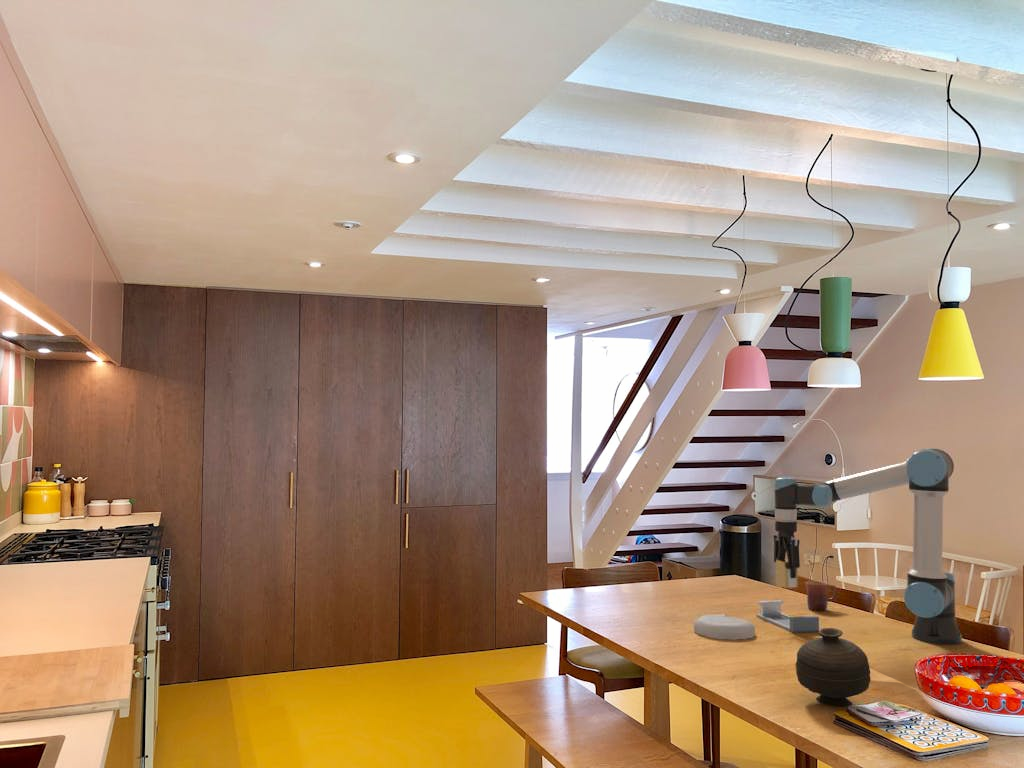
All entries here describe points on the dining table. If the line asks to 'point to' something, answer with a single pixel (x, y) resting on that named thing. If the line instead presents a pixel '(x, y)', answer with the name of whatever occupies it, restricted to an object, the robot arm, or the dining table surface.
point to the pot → (833, 668)
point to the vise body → (794, 622)
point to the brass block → (783, 573)
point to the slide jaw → (770, 607)
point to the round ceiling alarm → (724, 627)
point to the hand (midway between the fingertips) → (786, 585)
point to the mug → (818, 595)
